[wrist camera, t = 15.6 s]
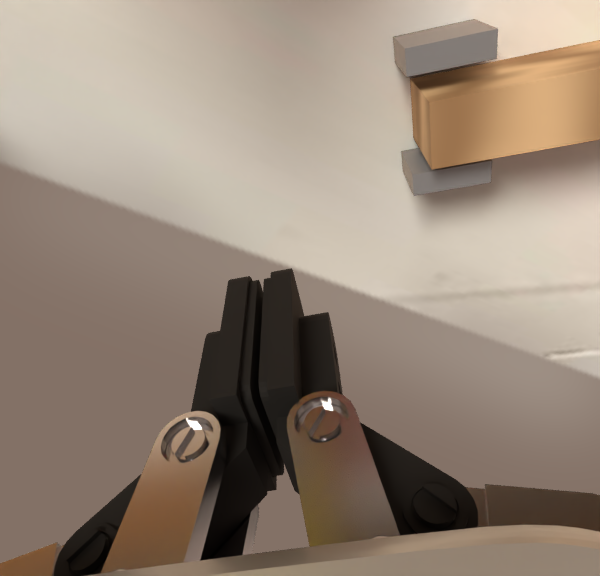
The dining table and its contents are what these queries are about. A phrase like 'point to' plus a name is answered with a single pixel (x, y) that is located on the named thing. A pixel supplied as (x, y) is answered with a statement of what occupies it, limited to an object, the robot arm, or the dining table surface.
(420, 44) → the sleeve
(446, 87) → the slat
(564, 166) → the dining table surface
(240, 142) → the dining table surface
